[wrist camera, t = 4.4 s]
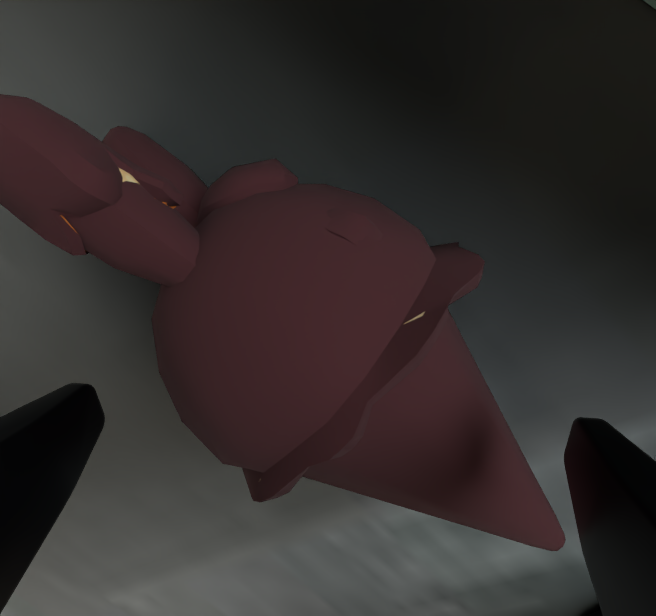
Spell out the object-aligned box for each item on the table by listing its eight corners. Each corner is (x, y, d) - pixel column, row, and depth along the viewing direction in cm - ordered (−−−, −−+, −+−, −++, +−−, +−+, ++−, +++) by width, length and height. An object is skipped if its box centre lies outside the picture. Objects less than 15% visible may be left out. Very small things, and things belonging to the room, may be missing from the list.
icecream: (833, 570, 7) (43, -176, 5) (487, 791, 9) (-208, 291, 7) (604, 384, 14) (216, 23, 12) (430, 532, 16) (66, 237, 14)
